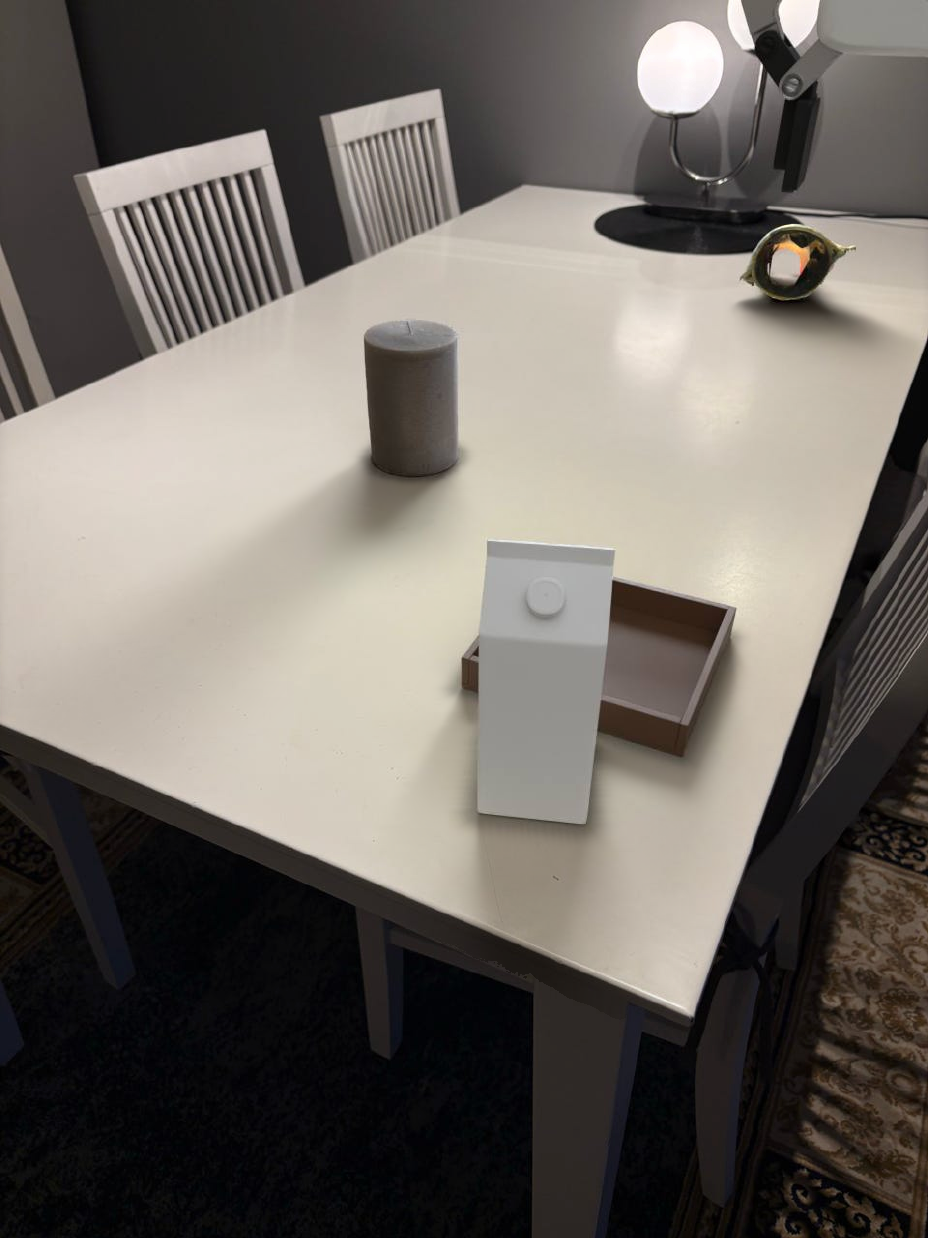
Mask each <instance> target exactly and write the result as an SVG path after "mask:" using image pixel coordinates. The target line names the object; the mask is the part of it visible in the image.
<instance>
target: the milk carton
mask: <svg viewBox="0 0 928 1238" xmlns="http://www.w3.org/2000/svg"><path fill="white" fill-rule="evenodd" d="M615 554H616V548H614V547H606V546H594V545H593V546H592V545H591V546H590V545H578V544H566V543H565V544H564V543H552V542H538V541H537V542H536V541H526V540H525V541H523V540H510V539H497V538H495V539H494V538H487V541H486V562H485V571H484V580H483V590H482V600H481V608H480V610H481V611H480V619H479V626H478V635H479V689H478V694H477V696H478V697H477V698H478V699H477V700H478V702H477V722H478V723H477V803H476V804H477V805H476V806H477V807H476V808H477V813H479V814H484V815H493V816H501V817H511V818H519V819H529V820H530V819H531V820H539V821H546V822H547V821H549V822H558V823H566V824H576V825H585V824H586V823H587V821H588V813H589V803H590V795H591V787H592V778H593V768H594V761H595V760H594V759H595V753H596V746H597V745H596V744H597V736H598V730H597V728H598V719H599V711H600V702H601V694H602V685H603V677H604V668H605V660H606V651H607V643H608V630H609V617H610V603H611V590H612V577H613V576H614V575H613V574H614V563H615Z"/></svg>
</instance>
